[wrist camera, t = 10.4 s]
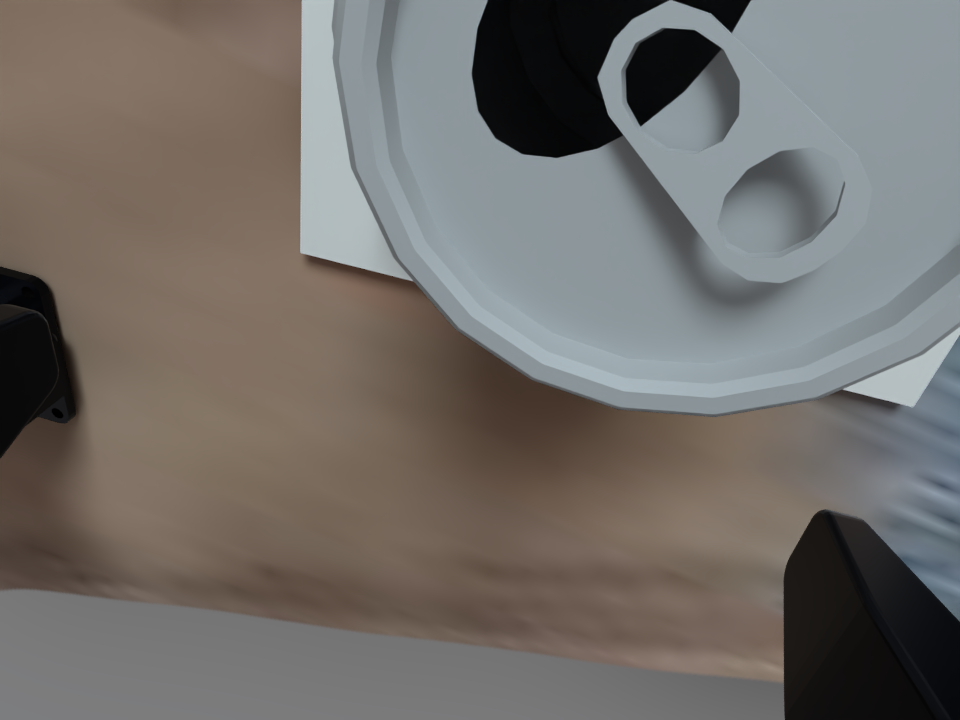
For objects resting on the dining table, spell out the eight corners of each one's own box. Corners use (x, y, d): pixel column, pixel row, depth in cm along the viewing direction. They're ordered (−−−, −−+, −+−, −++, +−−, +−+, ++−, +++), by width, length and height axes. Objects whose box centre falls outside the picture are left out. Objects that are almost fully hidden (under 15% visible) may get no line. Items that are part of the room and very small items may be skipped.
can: (707, -353, 13) (806, -1276, 3) (959, -35, 14) (1594, 100, 4) (450, -4, 17) (117, 126, 7) (667, 215, 18) (653, 579, 8)
